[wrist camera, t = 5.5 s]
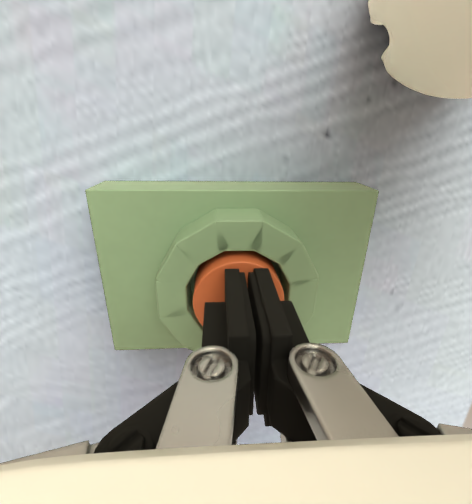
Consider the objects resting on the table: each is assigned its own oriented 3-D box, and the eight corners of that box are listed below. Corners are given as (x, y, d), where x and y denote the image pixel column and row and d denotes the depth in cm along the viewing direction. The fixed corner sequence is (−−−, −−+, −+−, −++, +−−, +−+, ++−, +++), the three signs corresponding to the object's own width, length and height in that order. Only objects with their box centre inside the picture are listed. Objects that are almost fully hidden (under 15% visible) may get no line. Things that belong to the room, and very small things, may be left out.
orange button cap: (197, 316, 14) (194, 341, 12) (193, 244, 12) (190, 262, 11) (273, 314, 14) (281, 339, 12) (278, 244, 12) (288, 260, 11)
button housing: (126, 323, 17) (101, 378, 13) (104, 180, 13) (62, 199, 10) (332, 318, 17) (364, 368, 14) (356, 181, 14) (405, 199, 11)
